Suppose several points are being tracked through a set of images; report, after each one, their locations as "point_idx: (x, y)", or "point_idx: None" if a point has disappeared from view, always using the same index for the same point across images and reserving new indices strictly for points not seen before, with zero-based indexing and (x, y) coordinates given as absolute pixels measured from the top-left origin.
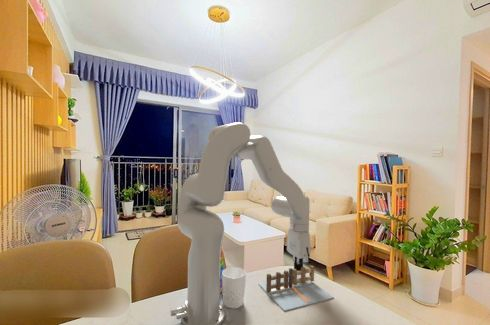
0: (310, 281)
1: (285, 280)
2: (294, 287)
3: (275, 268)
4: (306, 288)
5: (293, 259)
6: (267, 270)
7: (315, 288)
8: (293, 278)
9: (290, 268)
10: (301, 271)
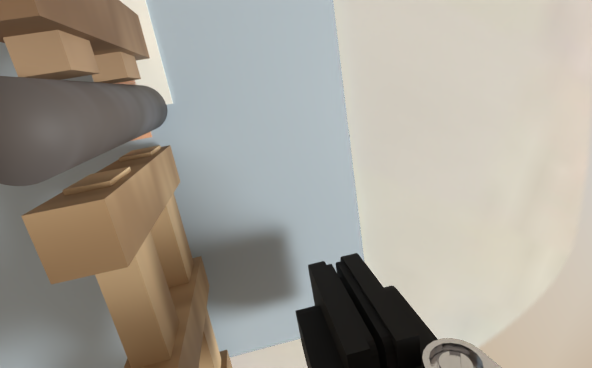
0: (227, 348)
1: None
2: (120, 148)
3: (576, 117)
4: None
5: (481, 364)
6: (574, 6)
7: (83, 347)
8: (123, 165)
9: (46, 137)
10: (122, 344)
